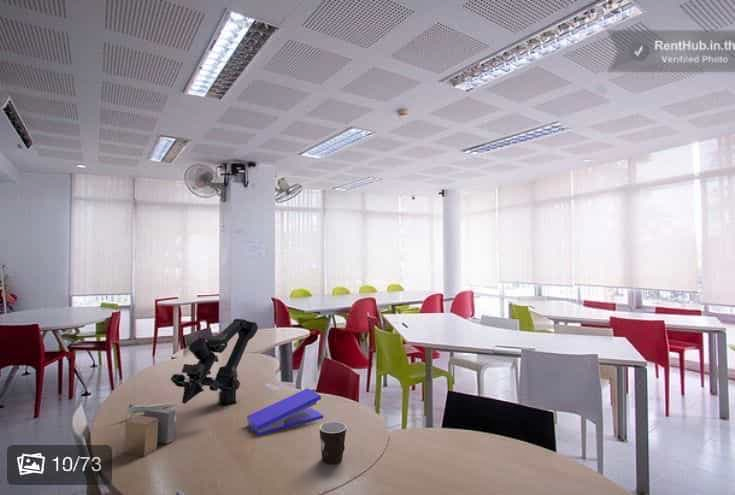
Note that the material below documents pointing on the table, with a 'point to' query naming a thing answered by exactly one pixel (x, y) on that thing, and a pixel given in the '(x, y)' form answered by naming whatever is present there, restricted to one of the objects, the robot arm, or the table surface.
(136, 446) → the tan rectangular block
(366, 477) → the table surface
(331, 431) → the dark brown cup
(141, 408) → the caliper
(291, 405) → the stapler
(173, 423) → the gray concrete brick
